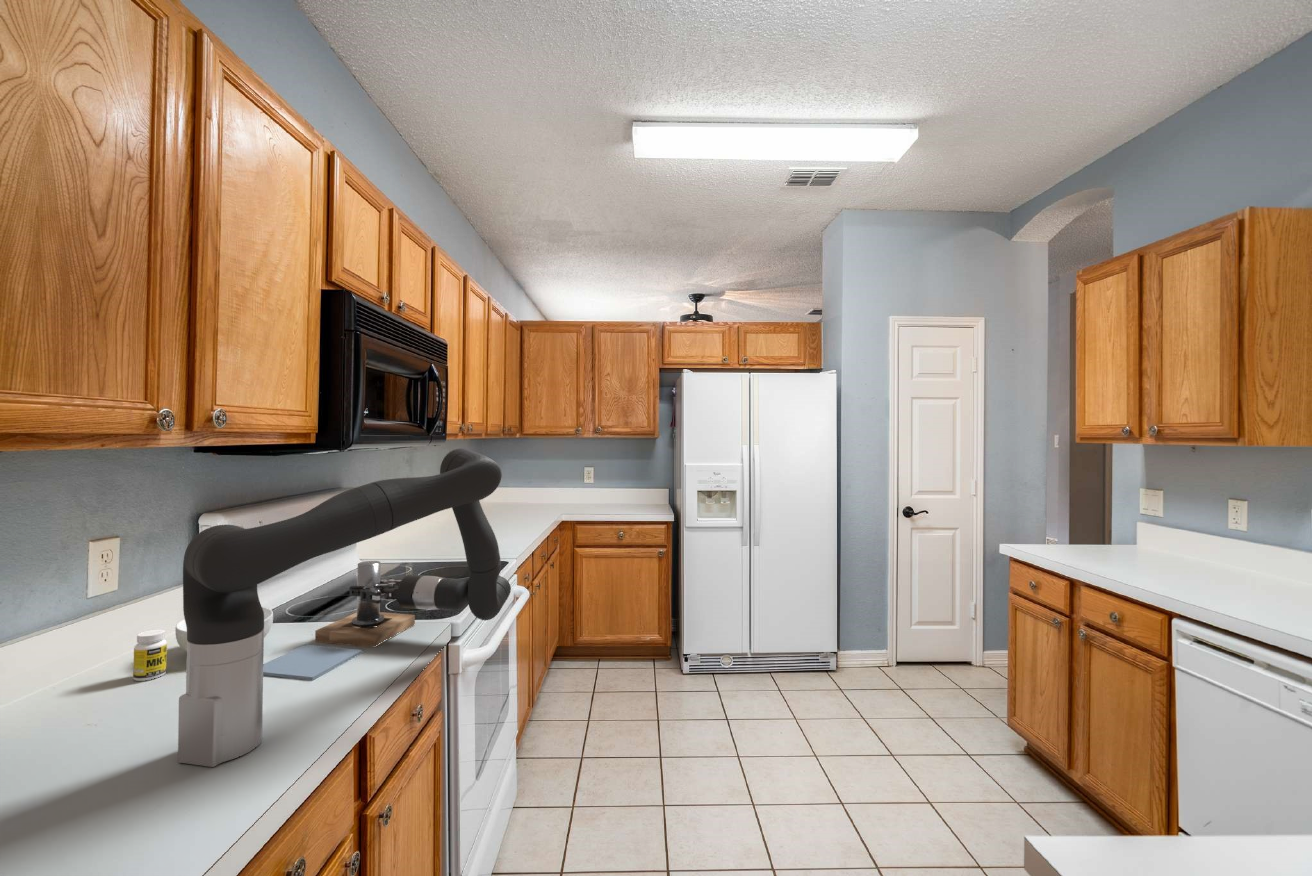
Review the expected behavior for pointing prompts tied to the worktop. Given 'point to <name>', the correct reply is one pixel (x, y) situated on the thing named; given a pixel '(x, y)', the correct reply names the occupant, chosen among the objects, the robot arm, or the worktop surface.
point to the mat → (308, 662)
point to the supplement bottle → (150, 655)
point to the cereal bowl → (182, 629)
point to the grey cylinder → (365, 610)
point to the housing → (364, 630)
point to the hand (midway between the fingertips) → (358, 587)
